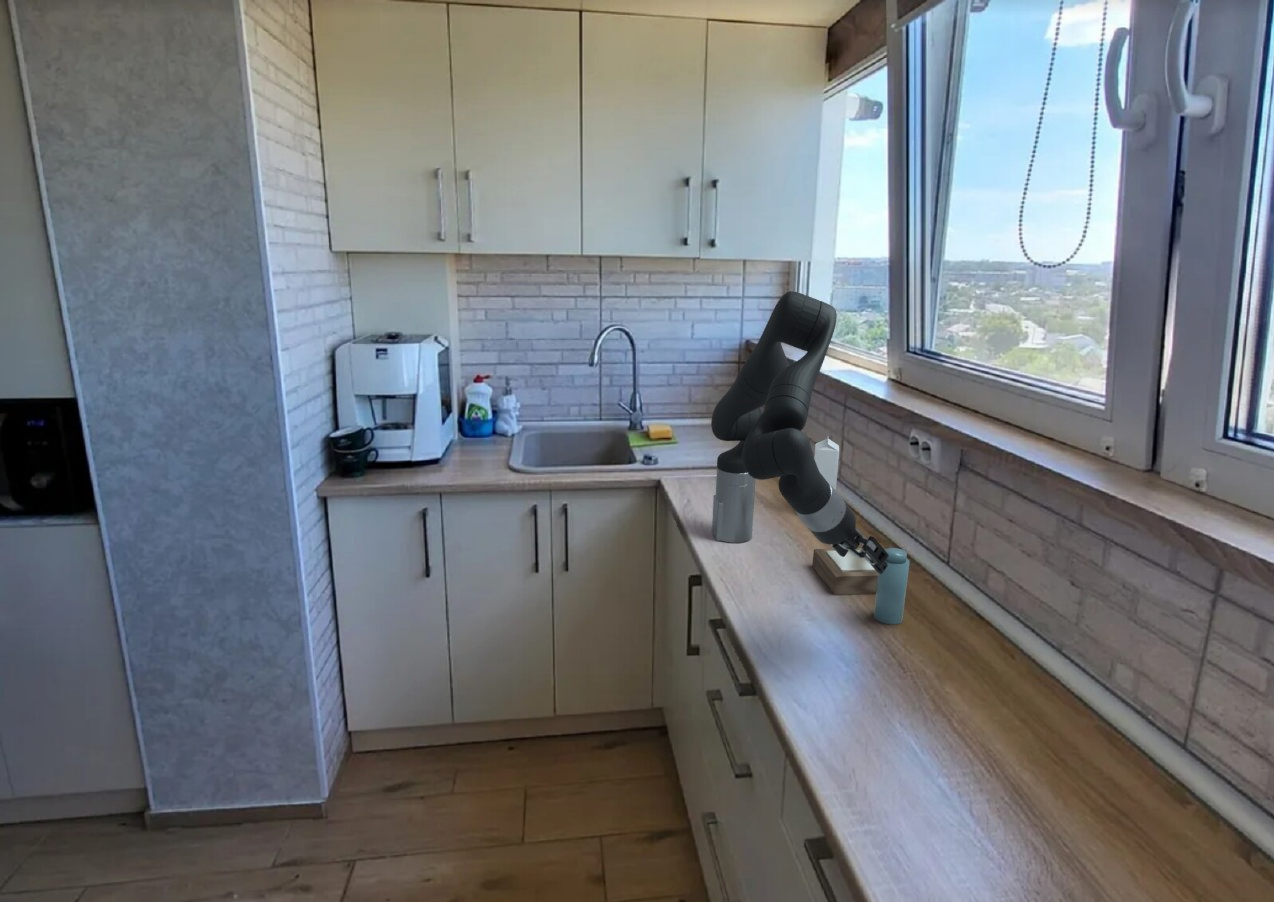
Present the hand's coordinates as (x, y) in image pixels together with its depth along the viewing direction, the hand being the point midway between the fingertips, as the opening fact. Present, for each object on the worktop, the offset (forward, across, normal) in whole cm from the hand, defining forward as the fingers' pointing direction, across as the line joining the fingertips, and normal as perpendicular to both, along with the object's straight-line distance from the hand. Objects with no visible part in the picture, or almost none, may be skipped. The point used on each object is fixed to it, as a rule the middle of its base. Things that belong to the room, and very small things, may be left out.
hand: (863, 560), depth 132 cm
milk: (+37, +45, -17) cm, 61 cm away
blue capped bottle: (+16, 0, +4) cm, 16 cm away
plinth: (+22, +15, -2) cm, 26 cm away
